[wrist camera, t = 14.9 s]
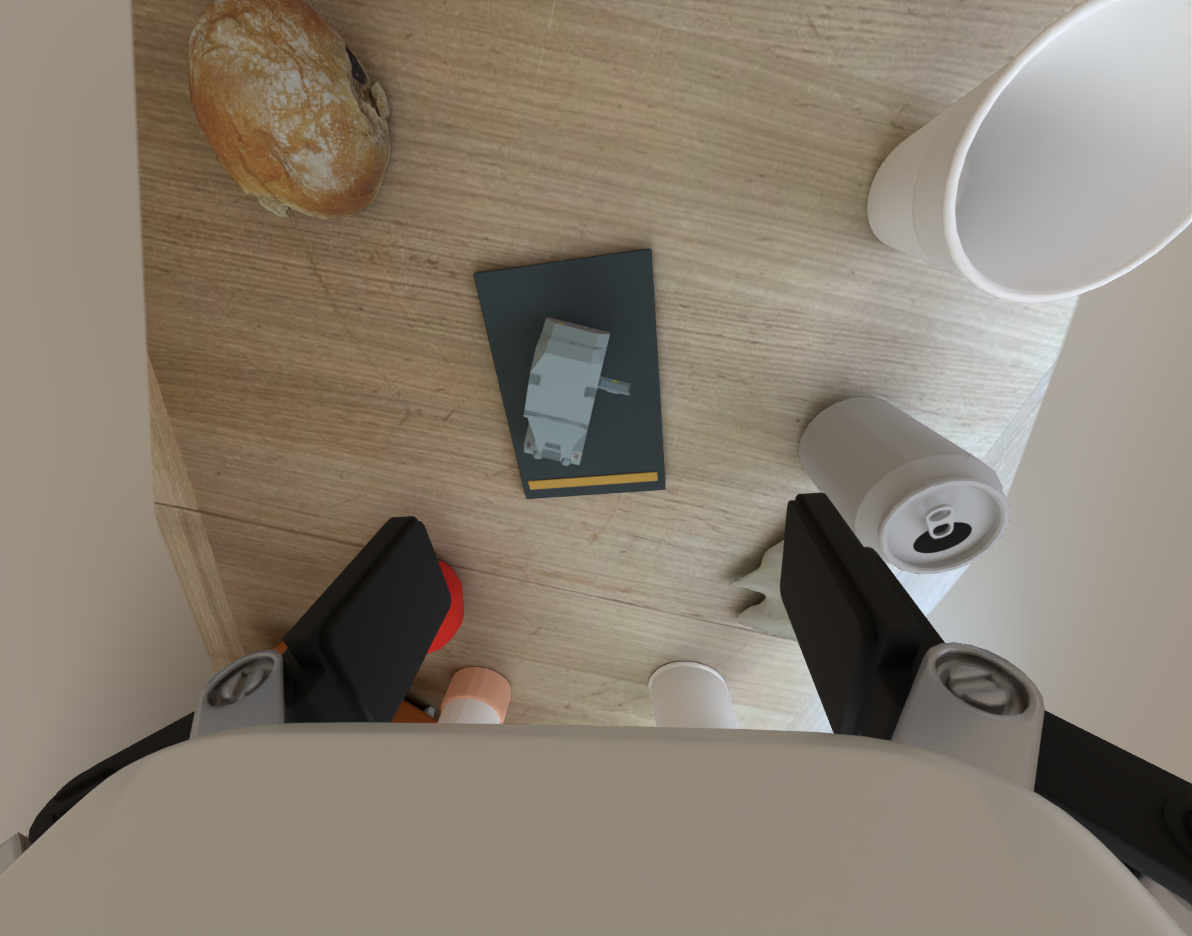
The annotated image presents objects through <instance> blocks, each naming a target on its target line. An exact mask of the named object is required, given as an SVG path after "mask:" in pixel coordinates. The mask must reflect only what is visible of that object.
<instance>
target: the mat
mask: <svg viewBox="0 0 1192 936" xmlns="http://www.w3.org/2000/svg"><path fill="white" fill-rule="evenodd" d="M473 275H474V280H475V284H476V288H477V292H478V297H479V301H480V305H481V309H482V314H483V318H484V322H485V326H486V331H487V335H488V339H489V343H490V348H491V352H492V356H493V360H494V365H495V369H496V373H497V377H498V382H499V386H500V390H501V394H502V399H503V403H504V407H505V411H506V416H507V420H508V424H509V428H510V433H511V437H512V441H513V445H514V450H515V454H516V458H517V462H518V467H519V471H520V475H521V479H522V484H523V488H524V492H525V496H526V499H535V498H549V497H564V496H579V495H594V494H608V493H623V492H638V491H653V490H665V472H664V455H663V438H662V421H661V404H660V387H659V370H658V353H657V336H656V319H655V302H654V285H653V268H652V251H651V249H642V250H635V251H628V252H621V253H614V254H607V255H599V256H592V257H585V258H578V259H571V260H563V261H556V262H549V263H542V264H535V265H528V266H520V267H513V268H506V269H499V270H492V271H484V272H477V273H474V274H473ZM547 317H550V318H554V319H558V320H562V321H566V322H570V323H574V324H578V325H582V326H586V327H589V328H590V329H591V328H594V329H598V330H602V331H606V332H610V336H609V340H608V344H607V349H606V353H605V357H604V361H603V366H602V370H601V374H600V376H602V377H606V378H610V379H614V380H618V381H622V382H626V383H630V395H625V394H621V393H618V394H615V393H611V392H607V390H604V389H600V388H597V392H596V396H595V400H594V405H593V409H592V413H591V418H590V422H589V426H588V430H587V435H586V439H585V443H584V447H583V452H582V456H581V460H580V465H576V464H572V463H570V465H568V466H565V465H562V464H561V461H556V460H552V459H548V458H543V457H542V458H541V459H535V458H534V457H533V454H529V453H525V452H524V443H525V438H526V434H527V429H528V425H529V421H528V418H527V417H524V410H525V404H526V397H527V390H528V384H529V377H530V371H531V367H532V363H533V358H534V354H535V349H536V346H537V344H538V341H539V338H540V336H541V333H542V330H543V327H544V323H545V320H546V318H547Z"/></svg>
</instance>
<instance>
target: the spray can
mask: <svg viewBox="0 0 1192 936" xmlns="http://www.w3.org/2000/svg"><path fill="white" fill-rule="evenodd" d="M648 687H649V692H650V695H651V701H652V706H653V711H654V716H655V721H656V725H657V727H678V728H723V729H740V728H739V724H738V719H737V715H736V712H735V710H734V707H733V704H732V701H731V698H730V695H729V692H728V690H727V686H726V683H725V681H724V679H723V678H722V676H721V675H720V674H719V673H718V672H716V671H715V670H714V669H712V668H710V667H708V666H706V665H703V664H700V663H695V662H674V663H670V664H667V665H664V666H662V667H660V668H659V669H657V670H656V671H655V672H654V673H653V674H652V675H651V677H650V679H649V685H648Z"/></svg>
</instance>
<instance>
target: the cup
mask: <svg viewBox="0 0 1192 936" xmlns="http://www.w3.org/2000/svg"><path fill="white" fill-rule="evenodd" d="M867 214H868V221H869V224H870V227H871V229H872V231H873V233H874V234H875V236H876V237H877V238H878V239H879V240H880V241H881V242H882V243H883V244H885V245H887V246H889V247H891V248H893V249H896V250H898V251H901V252H903V253H905V254H908V255H911V256H913V257H915V258H918V259H921V260H923V261H925V262H928V263H930V264H932V265H935V266H937V267H940V268H942V269H945V270H947V271H949V272H952V273H954V274H956V275H959V276H961V277H963V278H965V279H967V280H968V281H969V282H970V283H971V284H972V285H974V286H975V287H976V288H977V289H978V290H981V291H983V292H985V293H987V294H989V295H991V296H993V297H996V298H999V299H1004V300H1009V301H1014V302H1047V301H1052V300H1057V299H1062V298H1067V297H1072V296H1075V295H1078V294H1081V293H1083V292H1086V291H1089V290H1091V289H1094V288H1097V287H1100V286H1102V285H1104V284H1106V283H1108V282H1110V281H1112V280H1114V279H1116V278H1117V277H1120V276H1121V275H1123V274H1125V273H1127V272H1129V271H1131V270H1132V269H1134V268H1135V267H1137V266H1138V265H1140V264H1141V263H1142V262H1144V261H1145V260H1147V259H1148V258H1150V257H1151V256H1152V255H1154V254H1155V253H1157V252H1158V251H1160V250H1161V249H1162V248H1163V247H1164V246H1165V245H1166V244H1168V243H1169V242H1170V241H1171V240H1172V239H1173V238H1174V237H1176V236H1177V235H1178V234H1179V233H1180V232H1181V231H1183V230H1184V229H1185V228H1186V227H1187V226H1188V225H1189V224H1190V223H1191V222H1192V0H1086V1H1084V2H1082V3H1080V4H1079V5H1077V6H1076V7H1075V8H1073V9H1072V10H1070V11H1069V12H1068V13H1066V14H1065V15H1063V16H1062V17H1060V18H1059V19H1058V20H1056V21H1055V22H1053V23H1052V24H1051V25H1049V26H1048V27H1046V28H1045V29H1044V30H1043V31H1042V32H1041V33H1040V34H1039V35H1038V36H1037V37H1036V38H1035V39H1033V40H1032V41H1031V42H1030V43H1029V44H1028V45H1027V46H1026V47H1025V48H1024V49H1023V50H1022V51H1021V52H1020V53H1018V54H1017V55H1016V56H1015V58H1014V59H1013V60H1012V61H1011V62H1010V63H1008V64H1007V65H1006V66H1004V67H1003V68H1001V69H1000V70H999V71H997V72H996V73H995V74H993V75H992V76H991V77H989V78H988V79H987V80H985V81H984V82H983V83H981V84H980V85H979V86H978V87H976V88H975V89H973V90H972V91H971V92H969V93H968V94H967V95H965V96H964V97H963V98H961V99H960V100H958V101H957V102H956V103H954V104H953V105H952V106H950V107H949V108H948V109H946V110H945V111H944V112H942V113H941V114H939V115H938V116H937V117H935V118H934V119H933V120H931V121H930V122H929V123H927V124H926V125H924V126H923V127H922V128H920V129H919V130H917V131H916V132H915V133H913V134H912V135H911V136H909V137H908V138H907V139H905V140H904V141H903V142H901V143H900V144H899V145H898V146H897V147H896V148H895V149H894V150H893V151H892V152H891V153H890V154H889V155H888V157H887V158H886V159H885V160H884V162H883V163H882V164H881V166H880V168H879V170H878V171H877V173H876V175H875V177H874V180H873V182H872V185H871V187H870V191H869V196H868V202H867Z"/></svg>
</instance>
